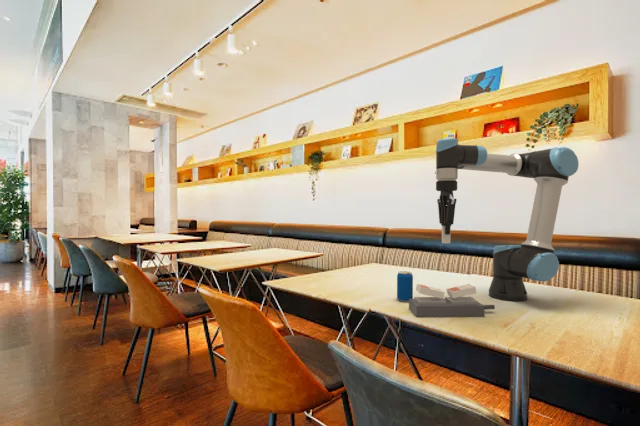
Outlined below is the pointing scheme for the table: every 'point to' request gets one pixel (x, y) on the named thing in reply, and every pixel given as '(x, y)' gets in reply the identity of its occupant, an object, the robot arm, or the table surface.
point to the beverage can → (404, 286)
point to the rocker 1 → (430, 291)
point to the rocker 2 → (461, 291)
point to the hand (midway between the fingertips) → (446, 243)
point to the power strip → (447, 307)
